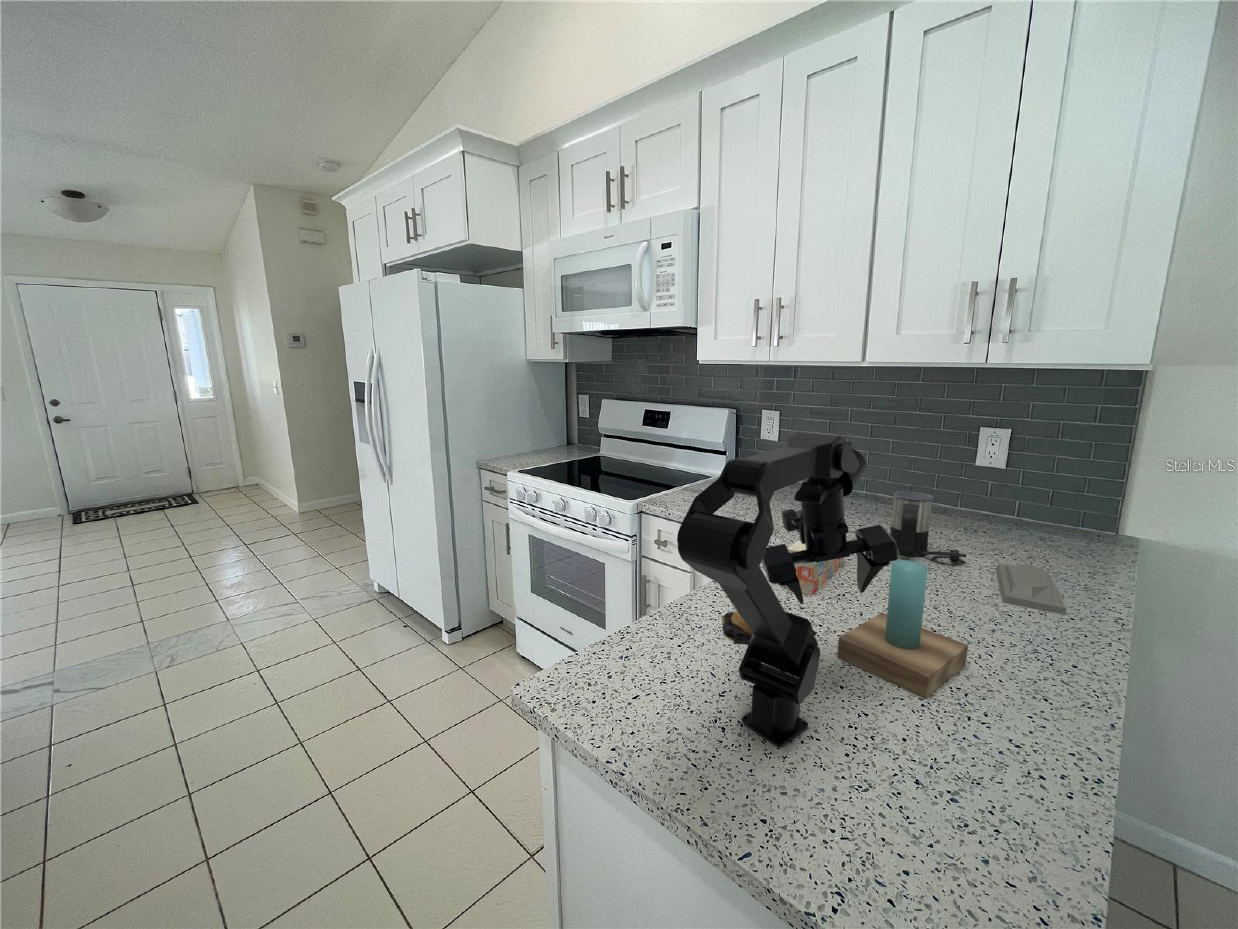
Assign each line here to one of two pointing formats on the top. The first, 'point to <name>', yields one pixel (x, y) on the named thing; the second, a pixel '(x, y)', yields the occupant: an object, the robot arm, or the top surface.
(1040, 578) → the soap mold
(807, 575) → the stack of blocks
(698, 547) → the robot arm
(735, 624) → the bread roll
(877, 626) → the walnut plinth
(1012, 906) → the top surface
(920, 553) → the milk frother
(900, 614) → the teal post
